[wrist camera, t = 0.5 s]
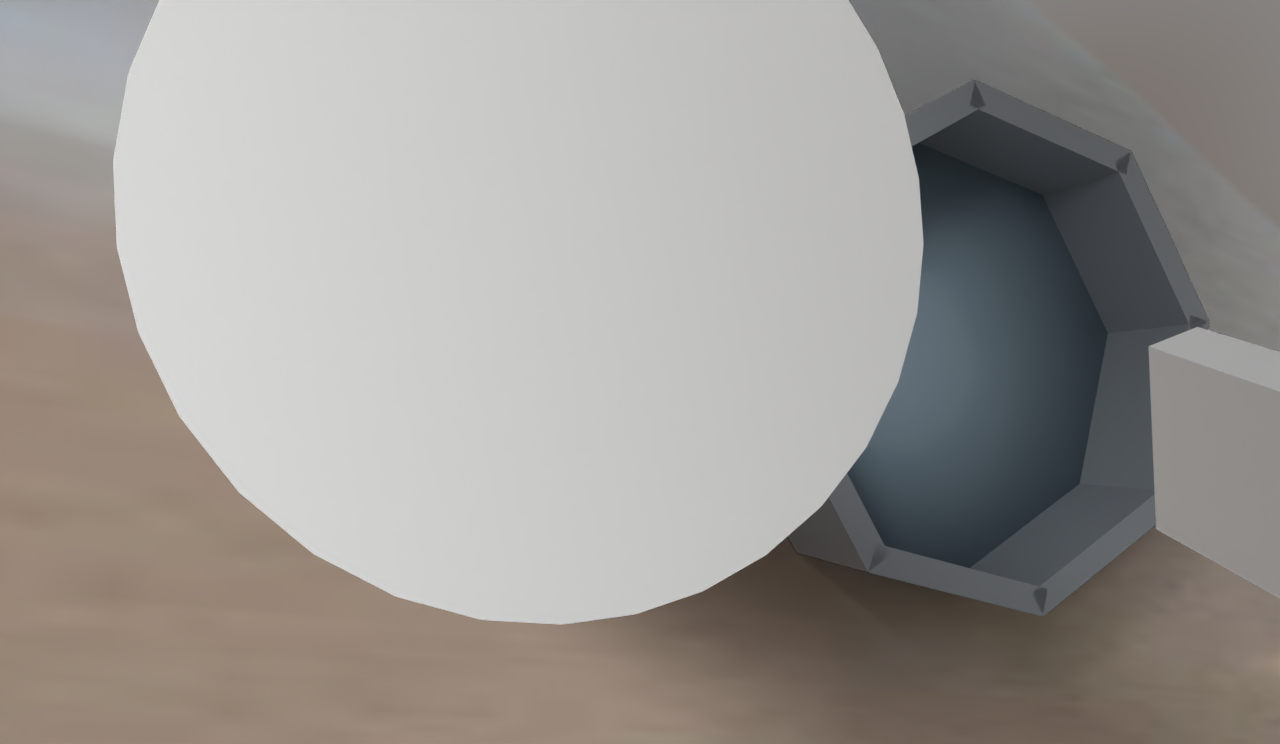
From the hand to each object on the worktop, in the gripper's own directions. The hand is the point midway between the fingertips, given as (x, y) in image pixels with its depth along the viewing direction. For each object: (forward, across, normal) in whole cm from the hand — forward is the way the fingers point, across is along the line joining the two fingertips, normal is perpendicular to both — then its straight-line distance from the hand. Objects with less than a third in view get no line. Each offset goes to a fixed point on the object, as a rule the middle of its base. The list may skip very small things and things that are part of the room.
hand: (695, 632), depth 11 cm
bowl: (+23, +17, -10) cm, 30 cm away
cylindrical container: (+23, -3, -3) cm, 23 cm away
